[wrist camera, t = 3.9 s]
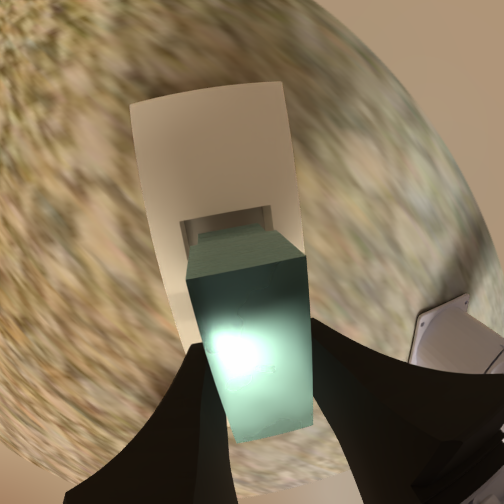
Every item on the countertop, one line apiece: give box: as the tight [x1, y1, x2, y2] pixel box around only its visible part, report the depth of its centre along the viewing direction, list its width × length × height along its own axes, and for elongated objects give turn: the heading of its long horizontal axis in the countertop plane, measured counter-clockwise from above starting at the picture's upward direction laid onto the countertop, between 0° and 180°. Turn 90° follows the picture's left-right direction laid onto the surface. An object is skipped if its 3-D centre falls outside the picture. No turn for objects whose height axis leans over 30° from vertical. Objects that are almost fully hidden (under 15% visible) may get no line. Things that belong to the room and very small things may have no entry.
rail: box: [129, 81, 305, 427], centre depth 16 cm, size 20×7×4 cm, turn 9°
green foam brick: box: [185, 223, 313, 443], centre depth 10 cm, size 7×3×6 cm, turn 9°
